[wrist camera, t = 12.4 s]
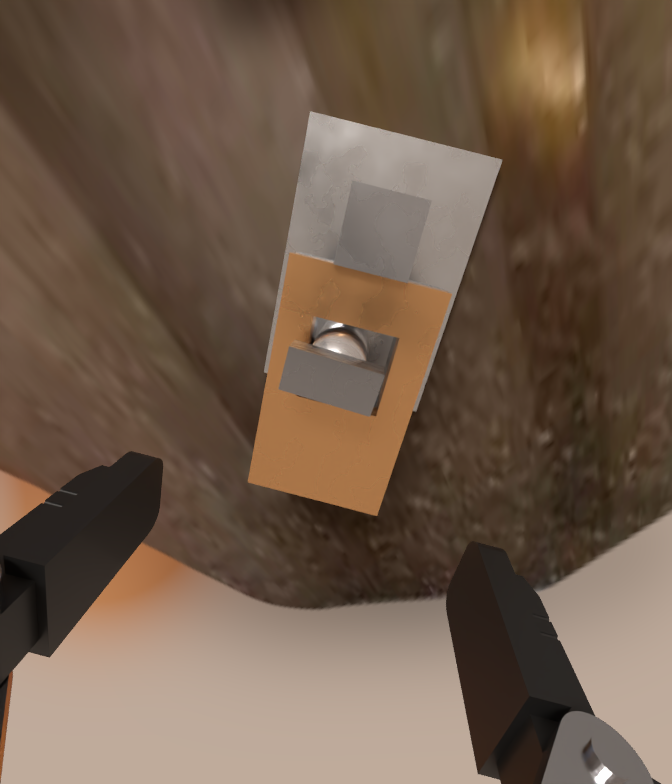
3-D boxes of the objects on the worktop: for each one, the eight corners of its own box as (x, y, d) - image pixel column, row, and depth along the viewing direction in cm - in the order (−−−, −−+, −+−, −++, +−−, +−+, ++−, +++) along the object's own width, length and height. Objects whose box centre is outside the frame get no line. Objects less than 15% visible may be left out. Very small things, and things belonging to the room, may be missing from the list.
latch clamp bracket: (312, 115, 28) (270, 28, 17) (498, 162, 28) (578, 105, 17) (259, 407, 37) (209, 477, 26) (402, 444, 37) (413, 530, 26)
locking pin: (322, 301, 32) (292, 334, 19) (380, 318, 32) (388, 364, 19) (311, 342, 33) (275, 399, 20) (367, 359, 33) (366, 426, 20)
